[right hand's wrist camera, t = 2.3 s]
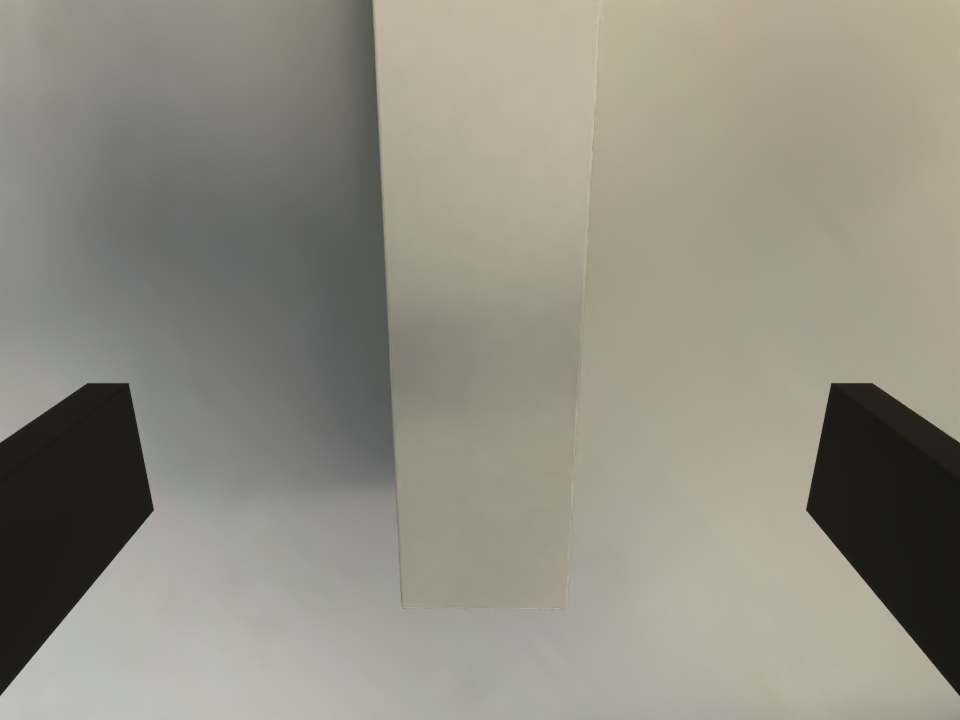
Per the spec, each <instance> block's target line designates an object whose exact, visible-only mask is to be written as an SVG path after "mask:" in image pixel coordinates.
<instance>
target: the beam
mask: <svg viewBox="0 0 960 720" xmlns="http://www.w3.org/2000/svg"><path fill="white" fill-rule="evenodd" d="M372 6H373V26H374V47H375V68H376V89H377V109H378V130H379V151H380V171H381V192H382V213H383V233H384V254H385V275H386V295H387V316H388V337H389V357H390V378H391V399H392V419H393V440H394V461H395V481H396V502H397V523H398V543H399V564H400V585H401V605H402V608H404V609H566V608H567V598H568V581H569V563H570V545H571V528H572V510H573V493H574V475H575V457H576V440H577V422H578V405H579V387H580V370H581V352H582V334H583V317H584V299H585V282H586V264H587V246H588V229H589V211H590V194H591V176H592V158H593V141H594V123H595V106H596V88H597V71H598V53H599V35H600V18H601V0H372Z"/></svg>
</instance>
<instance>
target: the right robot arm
mask: <svg viewBox="0 0 960 720" xmlns="http://www.w3.org/2000/svg"><path fill="white" fill-rule="evenodd" d="M153 511H154V508H153V503H152V498H151V493H150V488H149V483H148V478H147V473H146V468H145V463H144V458H143V453H142V448H141V443H140V438H139V433H138V428H137V423H136V418H135V413H134V408H133V403H132V398H131V393H130V388H129V383H87V384H86V385H84V386H83V387H81V388H80V389H79V390H77V391H76V392H74V393H73V394H71V395H70V396H68V397H67V398H65V399H64V400H62V401H61V402H59V403H58V404H57V405H55V406H54V407H52V408H51V409H49V410H48V411H46V412H45V413H43V414H42V415H40V416H39V417H37V418H36V419H35V420H33V421H32V422H30V423H29V424H27V425H26V426H24V427H23V428H21V429H20V430H18V431H17V432H15V433H14V434H13V435H11V436H10V437H8V438H7V439H5V440H4V441H2V442H1V443H0V696H1V694H2V693H3V692H4V691H5V690H6V688H7V687H8V686H9V685H10V683H11V682H12V681H13V680H14V679H15V677H16V676H17V675H18V674H19V673H20V671H21V670H22V669H23V668H24V667H25V665H26V664H27V663H28V662H29V661H30V659H31V658H32V657H33V656H34V654H35V653H36V652H37V651H38V650H39V648H40V647H41V646H42V645H43V644H44V642H45V641H46V640H47V639H48V638H49V636H50V635H51V634H52V633H53V632H54V630H55V629H56V628H57V627H58V625H59V624H60V623H61V622H62V621H63V619H64V618H65V617H66V616H67V615H68V613H69V612H70V611H71V610H72V609H73V607H74V606H75V605H76V604H77V602H78V601H79V600H80V599H81V598H82V596H83V595H84V594H85V593H86V592H87V590H88V589H89V588H90V587H91V586H92V584H93V583H94V582H95V581H96V580H97V578H98V577H99V576H100V575H101V573H102V572H103V571H104V570H105V569H106V567H107V566H108V565H109V564H110V563H111V561H112V560H113V559H114V558H115V557H116V555H117V554H118V553H119V552H120V550H121V549H122V548H123V547H124V546H125V544H126V543H127V542H128V541H129V540H130V538H131V537H132V536H133V535H134V534H135V532H136V531H137V530H138V529H139V528H140V526H141V525H142V524H143V523H144V521H145V520H146V519H147V518H148V517H149V515H150V514H151V513H152V512H153ZM806 511H807V512H808V513H809V514H810V515H811V517H812V518H813V519H814V520H815V521H816V523H817V524H818V525H819V526H820V528H821V529H822V530H823V531H824V532H825V534H826V535H827V536H828V537H829V538H830V540H831V541H832V542H833V543H834V544H835V546H836V547H837V548H838V549H839V550H840V552H841V553H842V554H843V555H844V557H845V558H846V559H847V560H848V561H849V563H850V564H851V565H852V566H853V567H854V569H855V570H856V571H857V572H858V573H859V575H860V576H861V577H862V578H863V580H864V581H865V582H866V583H867V584H868V586H869V587H870V588H871V589H872V590H873V592H874V593H875V594H876V595H877V596H878V598H879V599H880V600H881V601H882V602H883V604H884V605H885V606H886V607H887V609H888V610H889V611H890V612H891V613H892V615H893V616H894V617H895V618H896V619H897V621H898V622H899V623H900V624H901V625H902V627H903V628H904V629H905V630H906V632H907V633H908V634H909V635H910V636H911V638H912V639H913V640H914V641H915V642H916V644H917V645H918V646H919V647H920V648H921V650H922V651H923V652H924V653H925V654H926V656H927V657H928V658H929V659H930V661H931V662H932V663H933V664H934V665H935V667H936V668H937V669H938V670H939V671H940V673H941V674H942V675H943V676H944V677H945V679H946V680H947V681H948V682H949V684H950V685H951V686H952V687H953V688H954V690H955V691H956V692H957V693H958V694H959V696H960V443H959V442H958V441H956V440H955V439H953V438H952V437H950V436H949V435H947V434H946V433H945V432H943V431H942V430H940V429H939V428H937V427H936V426H934V425H933V424H931V423H930V422H928V421H927V420H925V419H924V418H923V417H921V416H920V415H918V414H917V413H915V412H914V411H912V410H911V409H909V408H908V407H906V406H905V405H903V404H902V403H901V402H899V401H898V400H896V399H895V398H893V397H892V396H890V395H889V394H887V393H886V392H884V391H883V390H881V389H880V388H879V387H877V386H876V385H874V384H873V383H831V388H830V393H829V398H828V403H827V408H826V413H825V418H824V423H823V428H822V433H821V438H820V443H819V448H818V453H817V458H816V463H815V468H814V473H813V478H812V483H811V488H810V493H809V498H808V503H807V508H806Z"/></svg>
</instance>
